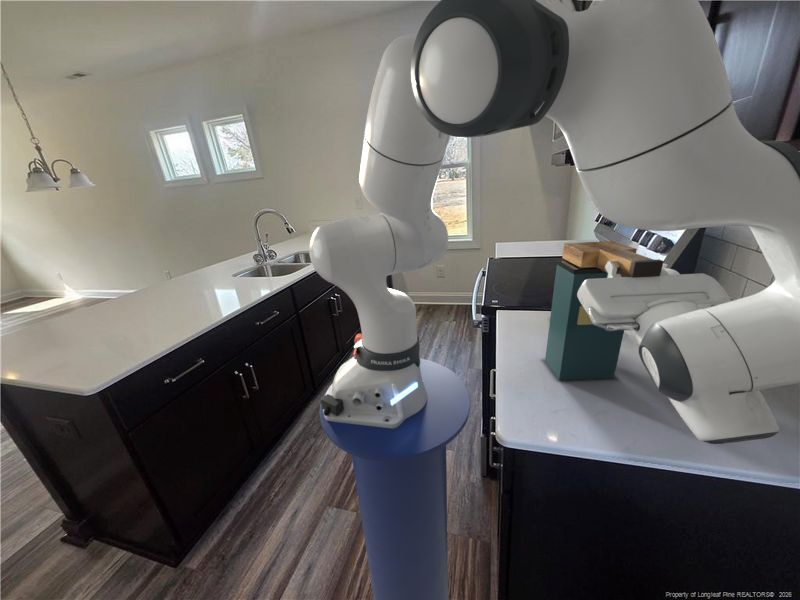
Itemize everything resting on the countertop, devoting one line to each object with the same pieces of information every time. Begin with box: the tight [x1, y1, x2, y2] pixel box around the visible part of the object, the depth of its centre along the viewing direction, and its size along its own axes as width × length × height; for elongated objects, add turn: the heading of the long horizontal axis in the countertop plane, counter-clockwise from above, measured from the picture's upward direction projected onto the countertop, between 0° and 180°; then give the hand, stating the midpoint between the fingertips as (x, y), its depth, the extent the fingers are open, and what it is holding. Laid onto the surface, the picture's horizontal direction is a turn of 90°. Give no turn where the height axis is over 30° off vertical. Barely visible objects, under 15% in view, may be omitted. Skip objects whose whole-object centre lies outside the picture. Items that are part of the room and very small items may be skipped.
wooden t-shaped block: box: [561, 240, 664, 278], centre depth 60 cm, size 10×18×4 cm, turn 178°
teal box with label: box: [544, 258, 625, 381], centre depth 70 cm, size 13×9×26 cm
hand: (626, 262), depth 56 cm, fingers closed on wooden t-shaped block, 4 cm apart
